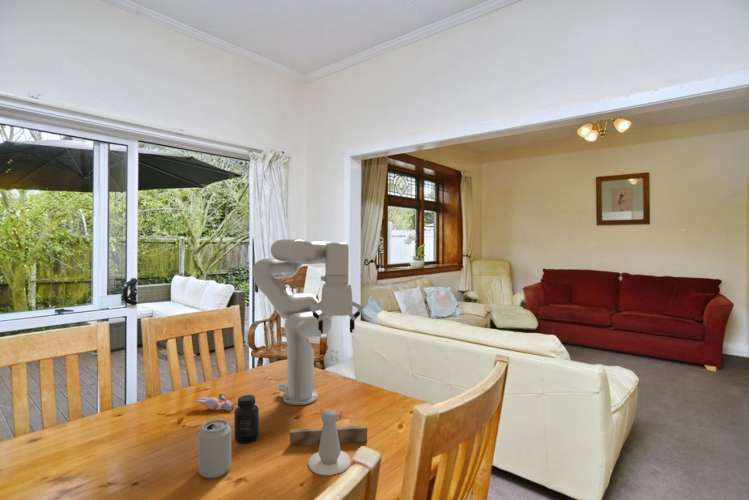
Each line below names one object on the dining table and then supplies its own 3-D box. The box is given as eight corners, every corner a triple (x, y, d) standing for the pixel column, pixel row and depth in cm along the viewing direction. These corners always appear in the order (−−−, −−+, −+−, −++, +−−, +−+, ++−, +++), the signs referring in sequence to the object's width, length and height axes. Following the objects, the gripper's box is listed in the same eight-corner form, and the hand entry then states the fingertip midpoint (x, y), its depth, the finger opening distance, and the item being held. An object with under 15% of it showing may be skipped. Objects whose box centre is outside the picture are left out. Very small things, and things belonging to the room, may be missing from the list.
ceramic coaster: (300, 470, 96) (300, 469, 96) (319, 448, 106) (319, 446, 106) (341, 478, 93) (341, 477, 93) (356, 454, 103) (356, 453, 103)
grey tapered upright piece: (342, 455, 102) (342, 407, 102) (338, 467, 97) (338, 417, 96) (321, 453, 103) (321, 406, 103) (315, 466, 97) (316, 416, 97)
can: (205, 463, 99) (205, 417, 98) (234, 462, 99) (234, 416, 99) (193, 481, 91) (193, 432, 91) (225, 480, 92) (225, 431, 92)
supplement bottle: (263, 434, 113) (263, 395, 113) (248, 446, 107) (249, 404, 107) (244, 430, 116) (244, 391, 115) (229, 441, 109) (229, 400, 109)
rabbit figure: (239, 409, 133) (198, 401, 133) (242, 393, 133) (200, 385, 133) (232, 418, 127) (188, 409, 127) (235, 400, 127) (191, 392, 127)
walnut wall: (289, 446, 107) (290, 432, 107) (290, 443, 109) (290, 429, 108) (367, 441, 110) (367, 428, 110) (366, 438, 112) (366, 425, 111)
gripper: (309, 281, 119) (309, 335, 119) (364, 281, 121) (363, 334, 122) (310, 278, 126) (310, 330, 127) (362, 278, 129) (361, 328, 129)
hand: (336, 332), depth 124 cm, fingers open, 9 cm apart
